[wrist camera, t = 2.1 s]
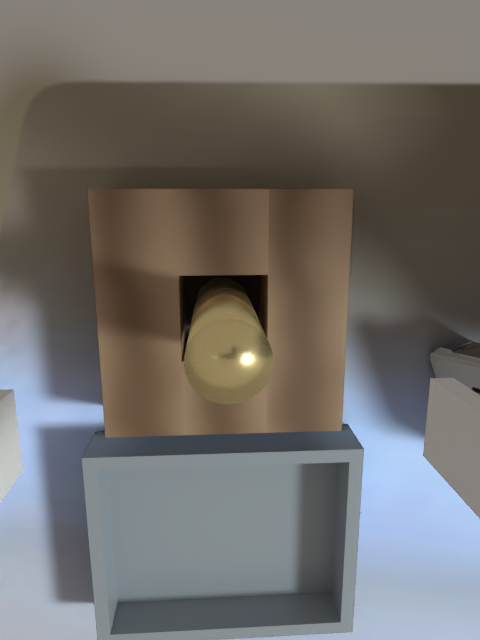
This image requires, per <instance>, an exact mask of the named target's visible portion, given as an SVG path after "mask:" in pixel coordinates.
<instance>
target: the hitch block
mask: <svg viewBox="0 0 480 640" xmlns="http://www.w3.org/2000/svg"><path fill="white" fill-rule="evenodd" d="M87 193H88V207H89V221H90V234H91V248H92V261H93V275H94V288H95V302H96V316H97V329H98V343H99V356H100V370H101V383H102V397H103V410H104V424H105V438H112V437H146V436H179V435H213V434H247V433H280V432H314V431H342V414H343V394H344V374H345V354H346V334H347V314H348V294H349V274H350V254H351V234H352V215H353V195H354V189H87ZM198 275H260V324H261V326H262V328H263V330H264V333H265V335H266V337H267V339H268V342H269V344H270V346H271V349H272V353H273V369H272V373H271V376H270V378H269V380H268V382H267V384H266V385H265V387H264V388H263V389H262V390H261V391H260V392H259V393H258V394H257V395H255V396H254V397H252V398H251V399H249V400H247V401H244V402H241V403H237V404H219V403H215V402H212V401H210V400H207V399H206V398H204V397H202V396H201V395H200V394H198V393H197V392H196V391H195V390H194V388H193V387H192V386H191V384H190V383H189V381H188V379H187V376H186V373H185V369H184V356H185V351H186V346H187V341H186V332H185V299H184V276H198Z"/></svg>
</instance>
